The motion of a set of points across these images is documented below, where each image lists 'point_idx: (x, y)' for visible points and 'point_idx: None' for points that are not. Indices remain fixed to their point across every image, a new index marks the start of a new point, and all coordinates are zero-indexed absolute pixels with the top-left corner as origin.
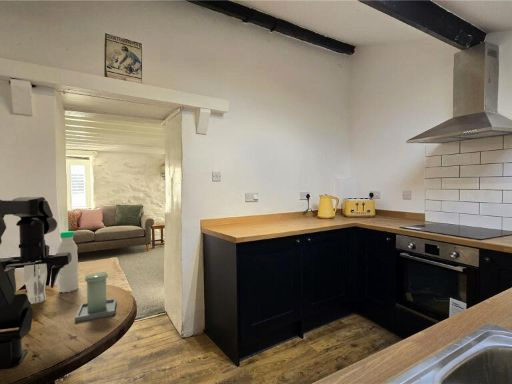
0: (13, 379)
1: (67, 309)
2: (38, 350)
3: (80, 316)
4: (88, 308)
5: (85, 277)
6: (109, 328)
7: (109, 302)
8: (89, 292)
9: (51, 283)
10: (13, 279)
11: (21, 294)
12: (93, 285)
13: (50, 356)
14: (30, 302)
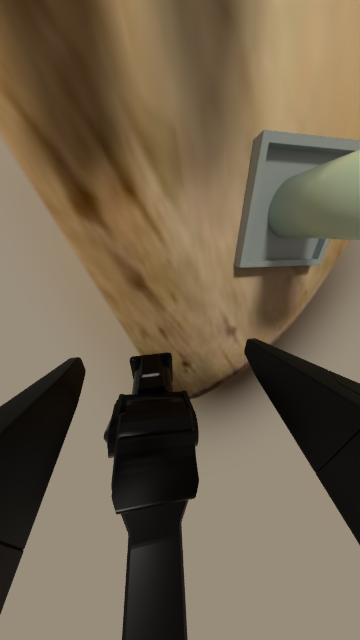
0: None
1: (211, 123)
2: (186, 353)
3: (251, 266)
4: (277, 223)
5: None
6: (283, 320)
7: (337, 155)
8: (333, 229)
9: (262, 380)
10: (17, 467)
11: (186, 498)
12: None
13: (205, 370)
14: (194, 435)
